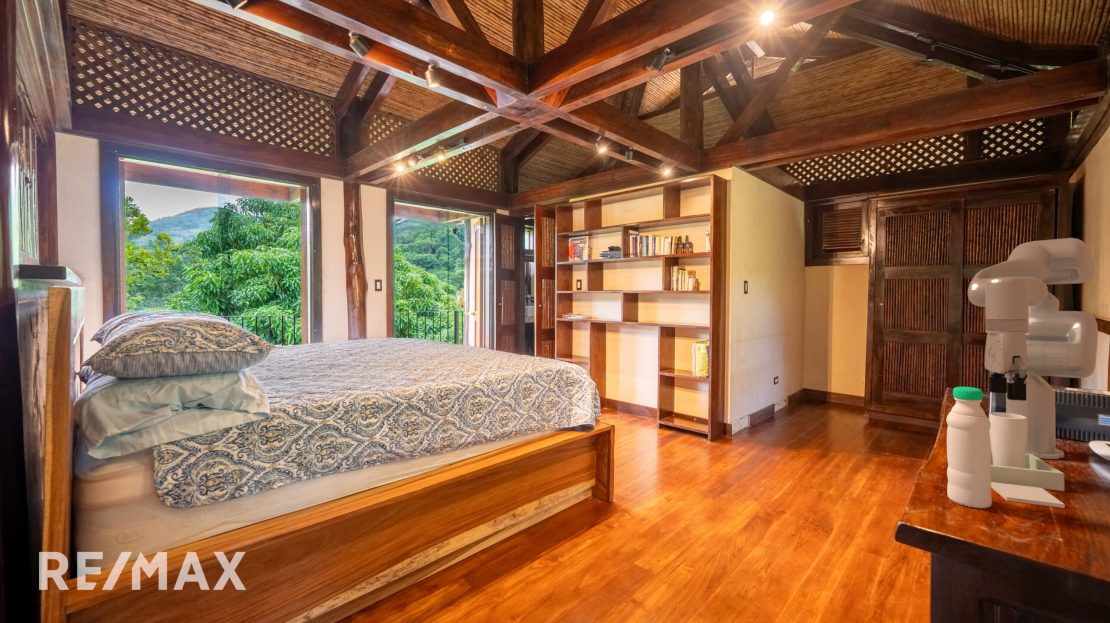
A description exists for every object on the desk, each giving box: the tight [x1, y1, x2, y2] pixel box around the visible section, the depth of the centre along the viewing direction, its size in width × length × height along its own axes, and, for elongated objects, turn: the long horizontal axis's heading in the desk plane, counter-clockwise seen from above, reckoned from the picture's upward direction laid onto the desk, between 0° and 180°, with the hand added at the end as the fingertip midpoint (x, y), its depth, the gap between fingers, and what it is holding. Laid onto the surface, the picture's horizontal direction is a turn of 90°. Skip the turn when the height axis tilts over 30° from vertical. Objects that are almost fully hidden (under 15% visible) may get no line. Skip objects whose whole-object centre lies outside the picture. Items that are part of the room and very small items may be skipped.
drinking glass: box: [988, 411, 1028, 468], centre depth 110 cm, size 7×7×15 cm
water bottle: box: [946, 386, 993, 509], centre depth 96 cm, size 7×7×25 cm
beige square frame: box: [990, 451, 1065, 492], centre depth 110 cm, size 14×14×4 cm
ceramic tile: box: [990, 482, 1066, 509], centre depth 99 cm, size 9×9×1 cm
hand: (1006, 396), depth 109 cm, fingers open, 9 cm apart
